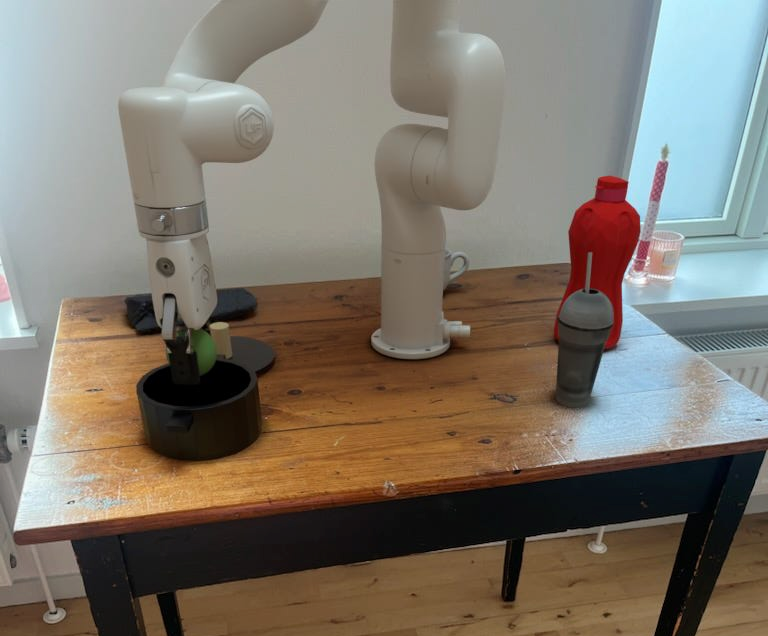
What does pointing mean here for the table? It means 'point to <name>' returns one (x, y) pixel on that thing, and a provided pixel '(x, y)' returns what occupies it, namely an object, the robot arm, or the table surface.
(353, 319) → the table surface
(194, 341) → the ball
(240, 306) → the dark slate chunk
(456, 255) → the teacup
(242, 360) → the lid
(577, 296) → the beverage cup
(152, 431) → the pan
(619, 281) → the water bottle
